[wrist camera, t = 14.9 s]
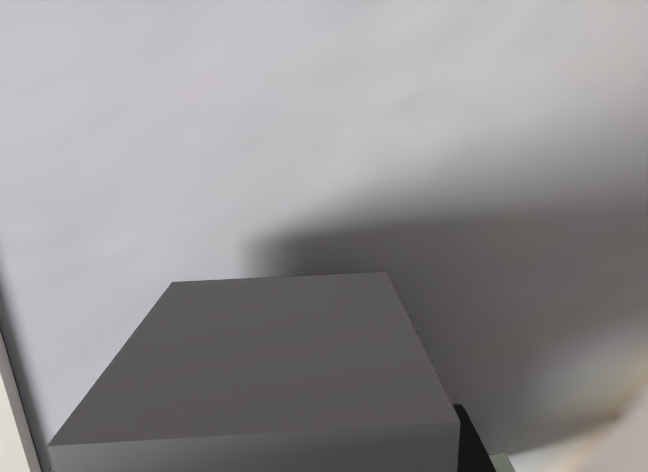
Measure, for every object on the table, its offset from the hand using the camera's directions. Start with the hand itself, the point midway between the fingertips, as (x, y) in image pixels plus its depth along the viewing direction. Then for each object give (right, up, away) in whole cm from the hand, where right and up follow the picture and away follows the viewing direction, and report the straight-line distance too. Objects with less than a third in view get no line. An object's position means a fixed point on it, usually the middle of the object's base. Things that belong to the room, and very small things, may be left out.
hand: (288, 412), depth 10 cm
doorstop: (0, 0, +1) cm, 1 cm away
